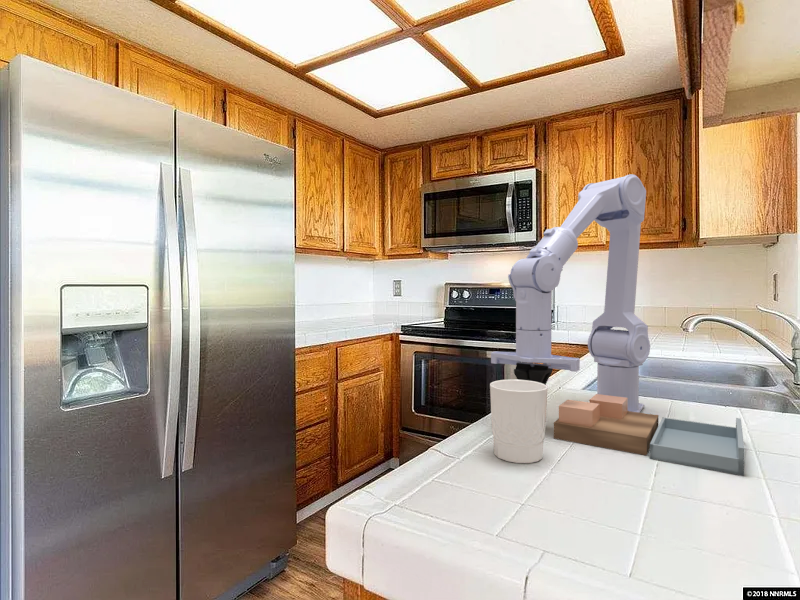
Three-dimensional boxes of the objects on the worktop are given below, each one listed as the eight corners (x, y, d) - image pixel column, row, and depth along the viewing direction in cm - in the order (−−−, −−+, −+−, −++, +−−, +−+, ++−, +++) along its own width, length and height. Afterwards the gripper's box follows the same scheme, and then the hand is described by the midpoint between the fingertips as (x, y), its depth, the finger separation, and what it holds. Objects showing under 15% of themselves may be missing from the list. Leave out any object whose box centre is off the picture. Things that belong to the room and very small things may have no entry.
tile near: (567, 414, 77) (567, 399, 77) (599, 419, 74) (599, 403, 74) (558, 421, 73) (558, 405, 73) (592, 427, 70) (592, 410, 70)
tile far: (596, 408, 81) (596, 393, 81) (627, 412, 78) (627, 397, 78) (589, 414, 77) (589, 399, 77) (622, 419, 74) (622, 403, 74)
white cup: (482, 459, 64) (482, 387, 64) (498, 442, 71) (498, 377, 71) (541, 469, 60) (541, 393, 60) (551, 450, 67) (552, 382, 67)
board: (576, 417, 84) (577, 404, 84) (658, 430, 77) (658, 415, 77) (553, 438, 73) (553, 422, 73) (646, 455, 65) (646, 437, 65)
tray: (662, 429, 77) (662, 408, 77) (740, 441, 71) (740, 418, 71) (649, 458, 64) (649, 433, 64) (743, 476, 58) (744, 448, 58)
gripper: (483, 328, 79) (483, 408, 79) (571, 333, 70) (570, 422, 71) (500, 325, 84) (499, 399, 85) (583, 329, 76) (582, 412, 76)
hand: (533, 409), depth 78 cm, fingers closed
